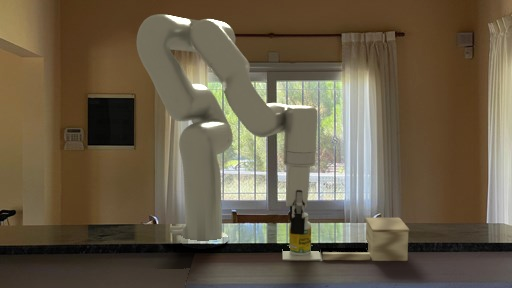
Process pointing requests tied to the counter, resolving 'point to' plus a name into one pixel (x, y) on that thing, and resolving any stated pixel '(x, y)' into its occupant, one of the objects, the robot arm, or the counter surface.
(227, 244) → the counter surface
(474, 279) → the counter surface
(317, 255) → the mat
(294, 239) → the supplement bottle
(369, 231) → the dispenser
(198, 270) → the counter surface
